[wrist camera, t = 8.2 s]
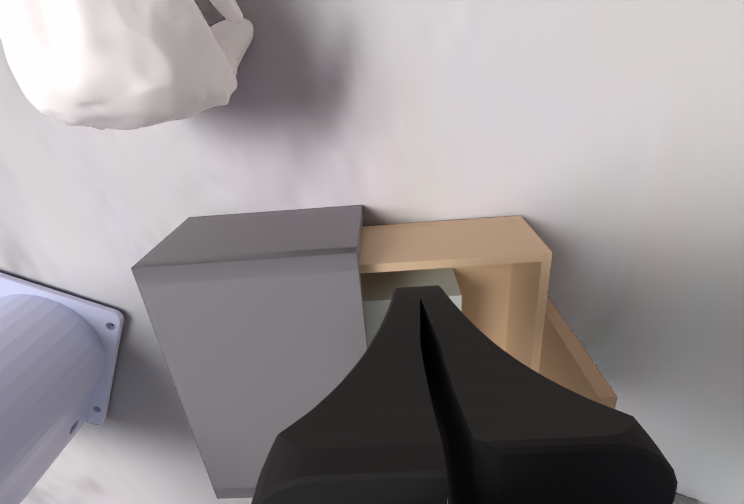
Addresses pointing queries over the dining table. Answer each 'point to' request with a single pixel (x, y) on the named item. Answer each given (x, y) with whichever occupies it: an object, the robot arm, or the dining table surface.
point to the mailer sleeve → (255, 326)
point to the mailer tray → (482, 290)
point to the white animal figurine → (123, 58)
